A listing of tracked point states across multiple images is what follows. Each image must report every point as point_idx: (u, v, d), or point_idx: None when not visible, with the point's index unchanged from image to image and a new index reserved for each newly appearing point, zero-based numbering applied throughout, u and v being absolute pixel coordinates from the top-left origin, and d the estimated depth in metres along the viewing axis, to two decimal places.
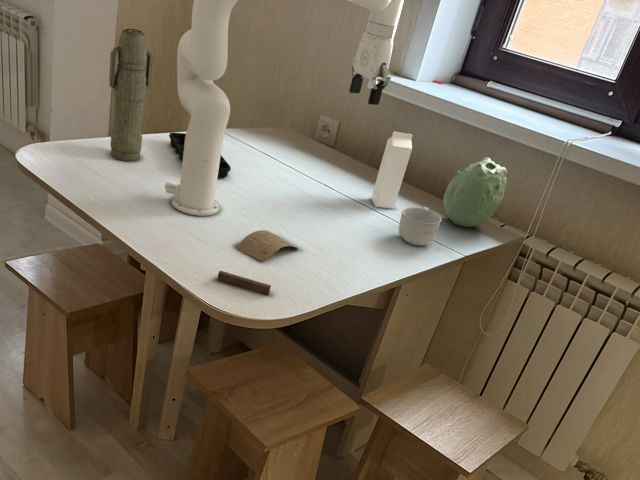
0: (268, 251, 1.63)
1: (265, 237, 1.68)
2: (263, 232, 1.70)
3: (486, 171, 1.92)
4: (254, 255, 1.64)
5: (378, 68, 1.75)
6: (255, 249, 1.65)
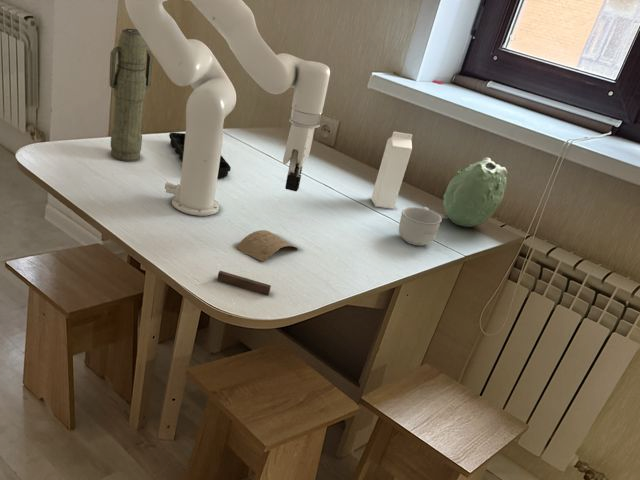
0: (268, 251, 1.63)
1: (265, 237, 1.68)
2: (263, 232, 1.70)
3: (486, 171, 1.92)
4: (254, 255, 1.64)
5: (289, 154, 1.64)
6: (255, 249, 1.65)
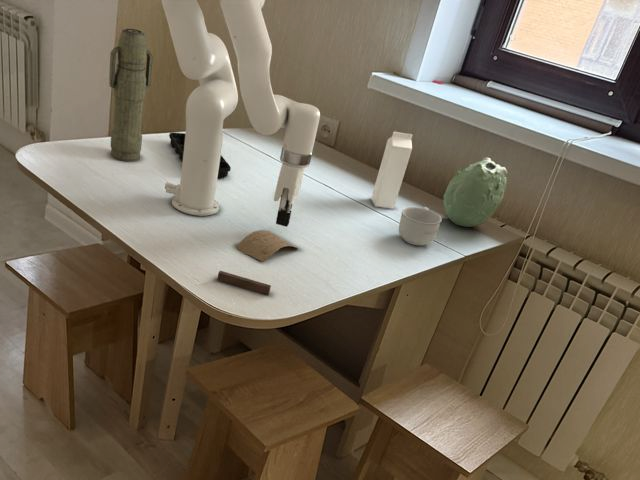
0: (268, 251, 1.63)
1: (265, 237, 1.68)
2: (263, 232, 1.70)
3: (486, 171, 1.92)
4: (254, 255, 1.64)
5: (279, 192, 1.68)
6: (255, 249, 1.65)
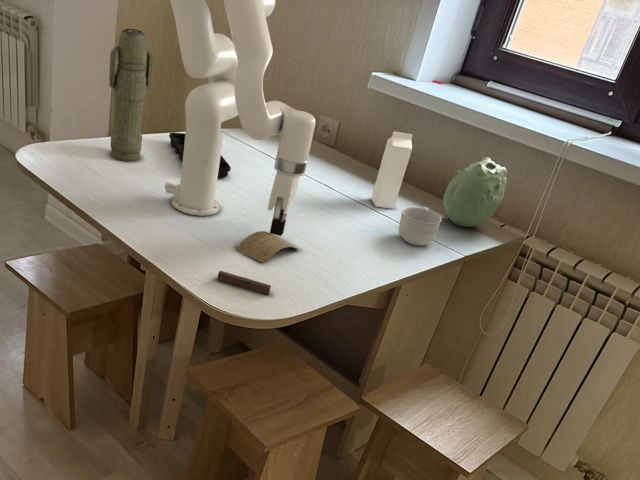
0: (268, 252, 1.63)
1: (265, 238, 1.67)
2: (262, 233, 1.69)
3: (486, 171, 1.92)
4: (255, 256, 1.63)
5: (273, 201, 1.64)
6: (255, 250, 1.64)
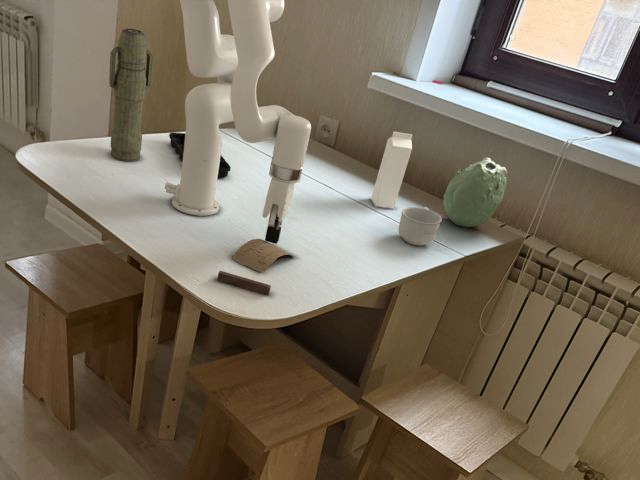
0: (265, 261, 1.59)
1: (260, 246, 1.63)
2: (257, 241, 1.65)
3: (486, 171, 1.92)
4: (252, 266, 1.59)
5: (268, 208, 1.60)
6: (252, 259, 1.60)
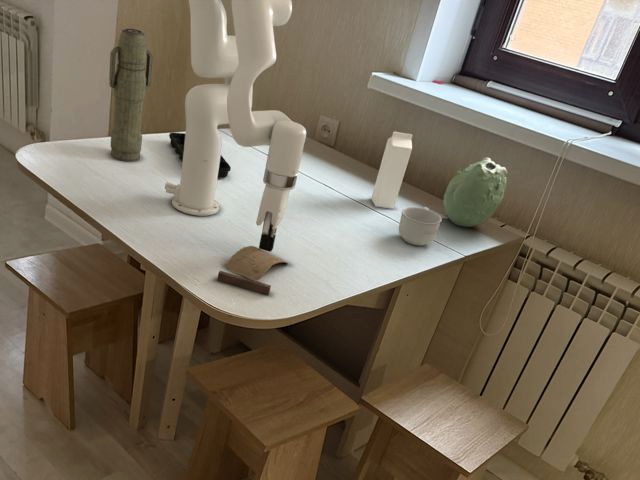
0: (259, 270, 1.55)
1: (253, 254, 1.59)
2: (250, 249, 1.61)
3: (486, 171, 1.92)
4: (245, 274, 1.55)
5: (262, 216, 1.56)
6: (246, 268, 1.56)
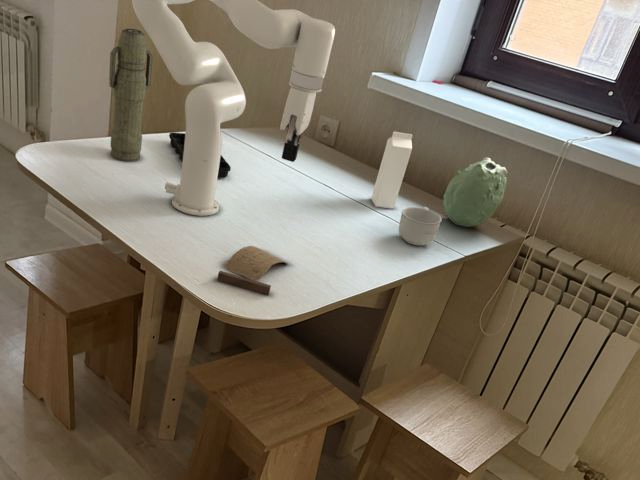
0: (259, 270, 1.55)
1: (253, 254, 1.59)
2: (250, 248, 1.61)
3: (486, 171, 1.92)
4: (245, 274, 1.55)
5: (286, 119, 1.52)
6: (245, 267, 1.56)
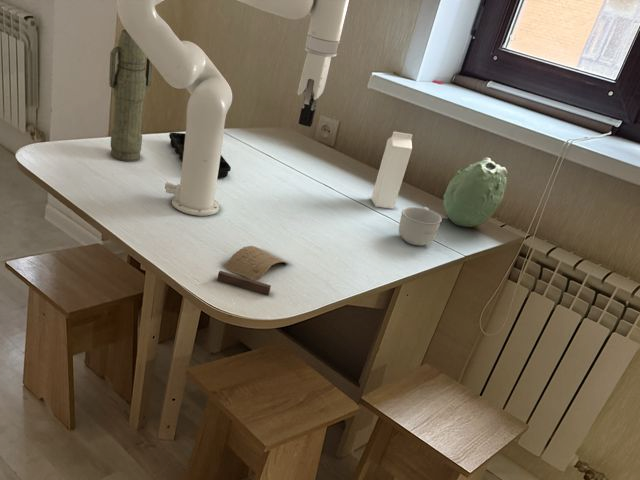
0: (259, 270, 1.55)
1: (253, 254, 1.59)
2: (250, 248, 1.61)
3: (486, 171, 1.92)
4: (245, 274, 1.55)
5: (304, 84, 1.57)
6: (245, 267, 1.56)
